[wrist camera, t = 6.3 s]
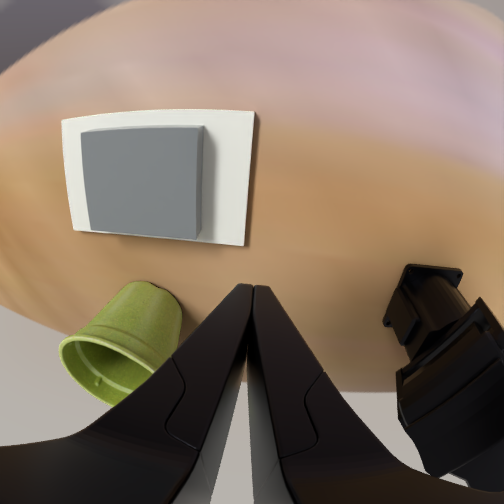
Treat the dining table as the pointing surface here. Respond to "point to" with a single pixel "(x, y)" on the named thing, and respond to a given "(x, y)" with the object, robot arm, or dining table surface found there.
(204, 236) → the white rectangular board
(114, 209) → the slate tile
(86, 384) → the plant pot
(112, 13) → the dining table surface
